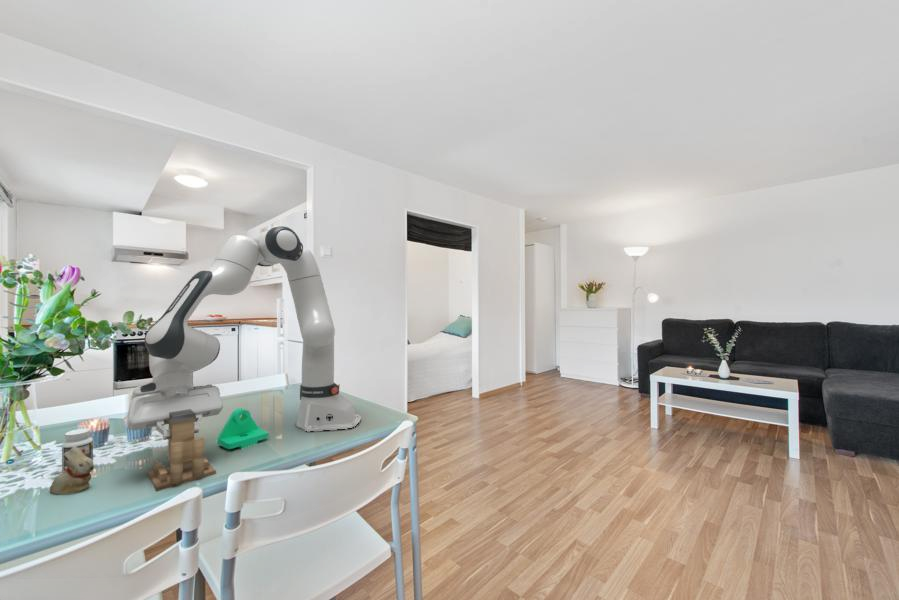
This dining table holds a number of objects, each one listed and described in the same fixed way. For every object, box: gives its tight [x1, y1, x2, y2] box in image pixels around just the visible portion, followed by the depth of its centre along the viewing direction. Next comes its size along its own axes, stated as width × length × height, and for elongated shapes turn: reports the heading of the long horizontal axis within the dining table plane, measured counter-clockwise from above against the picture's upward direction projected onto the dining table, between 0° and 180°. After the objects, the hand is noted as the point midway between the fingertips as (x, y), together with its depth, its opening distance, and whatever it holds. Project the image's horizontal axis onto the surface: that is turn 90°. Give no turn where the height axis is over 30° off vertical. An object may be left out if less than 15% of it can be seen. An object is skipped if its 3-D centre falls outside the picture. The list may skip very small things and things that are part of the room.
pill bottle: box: [61, 428, 94, 473], centre depth 95 cm, size 6×6×10 cm
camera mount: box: [216, 407, 269, 450], centre depth 114 cm, size 12×8×10 cm, turn 144°
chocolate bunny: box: [49, 447, 95, 495], centre depth 85 cm, size 6×8×10 cm
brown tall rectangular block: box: [167, 409, 196, 463], centre depth 94 cm, size 4×4×12 cm
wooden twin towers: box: [147, 436, 217, 492], centre depth 93 cm, size 13×12×10 cm
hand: (182, 435), depth 93 cm, fingers closed on brown tall rectangular block, 4 cm apart
